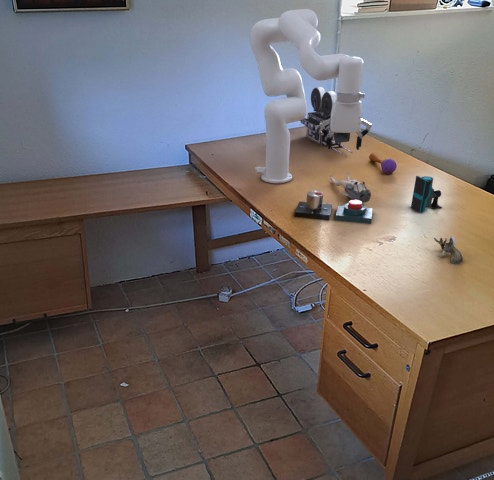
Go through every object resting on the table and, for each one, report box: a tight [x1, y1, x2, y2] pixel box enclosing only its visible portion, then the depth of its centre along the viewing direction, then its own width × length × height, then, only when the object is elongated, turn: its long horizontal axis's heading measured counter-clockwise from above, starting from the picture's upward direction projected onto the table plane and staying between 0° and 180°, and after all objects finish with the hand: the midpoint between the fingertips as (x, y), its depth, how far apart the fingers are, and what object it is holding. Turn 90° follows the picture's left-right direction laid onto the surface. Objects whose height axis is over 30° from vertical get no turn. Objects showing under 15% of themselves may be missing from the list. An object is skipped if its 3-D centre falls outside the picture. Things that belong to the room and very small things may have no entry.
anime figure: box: [329, 173, 372, 204], centre depth 210 cm, size 10×7×30 cm
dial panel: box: [294, 201, 334, 221], centre depth 197 cm, size 12×10×2 cm
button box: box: [334, 202, 374, 225], centre depth 193 cm, size 12×9×4 cm
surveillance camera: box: [410, 175, 443, 214], centre depth 196 cm, size 6×12×10 cm
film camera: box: [299, 86, 354, 155], centre depth 261 cm, size 40×12×24 cm, turn 17°
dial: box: [305, 190, 324, 211], centre depth 195 cm, size 6×6×6 cm
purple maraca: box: [368, 152, 397, 174], centre depth 236 cm, size 6×6×20 cm
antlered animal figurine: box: [433, 235, 464, 265], centre depth 166 cm, size 8×7×9 cm
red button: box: [348, 199, 363, 210], centre depth 192 cm, size 4×4×2 cm
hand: (343, 148), depth 192 cm, fingers open, 9 cm apart
